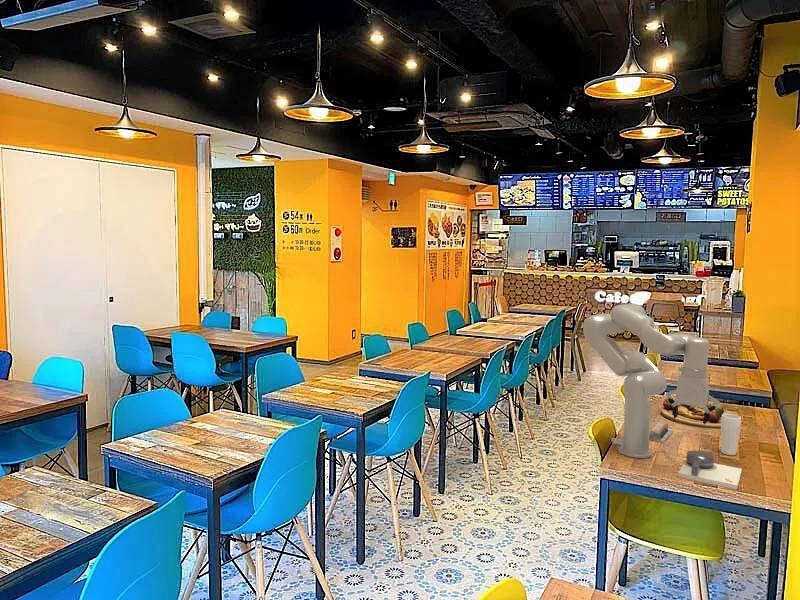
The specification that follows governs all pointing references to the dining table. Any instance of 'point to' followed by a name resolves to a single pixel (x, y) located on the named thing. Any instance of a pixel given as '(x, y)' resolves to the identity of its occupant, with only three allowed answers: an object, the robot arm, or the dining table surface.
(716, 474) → the dial base
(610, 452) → the dining table surface
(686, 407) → the wooden plate with food
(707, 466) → the dial
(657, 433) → the packaged product
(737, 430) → the drinking glass
